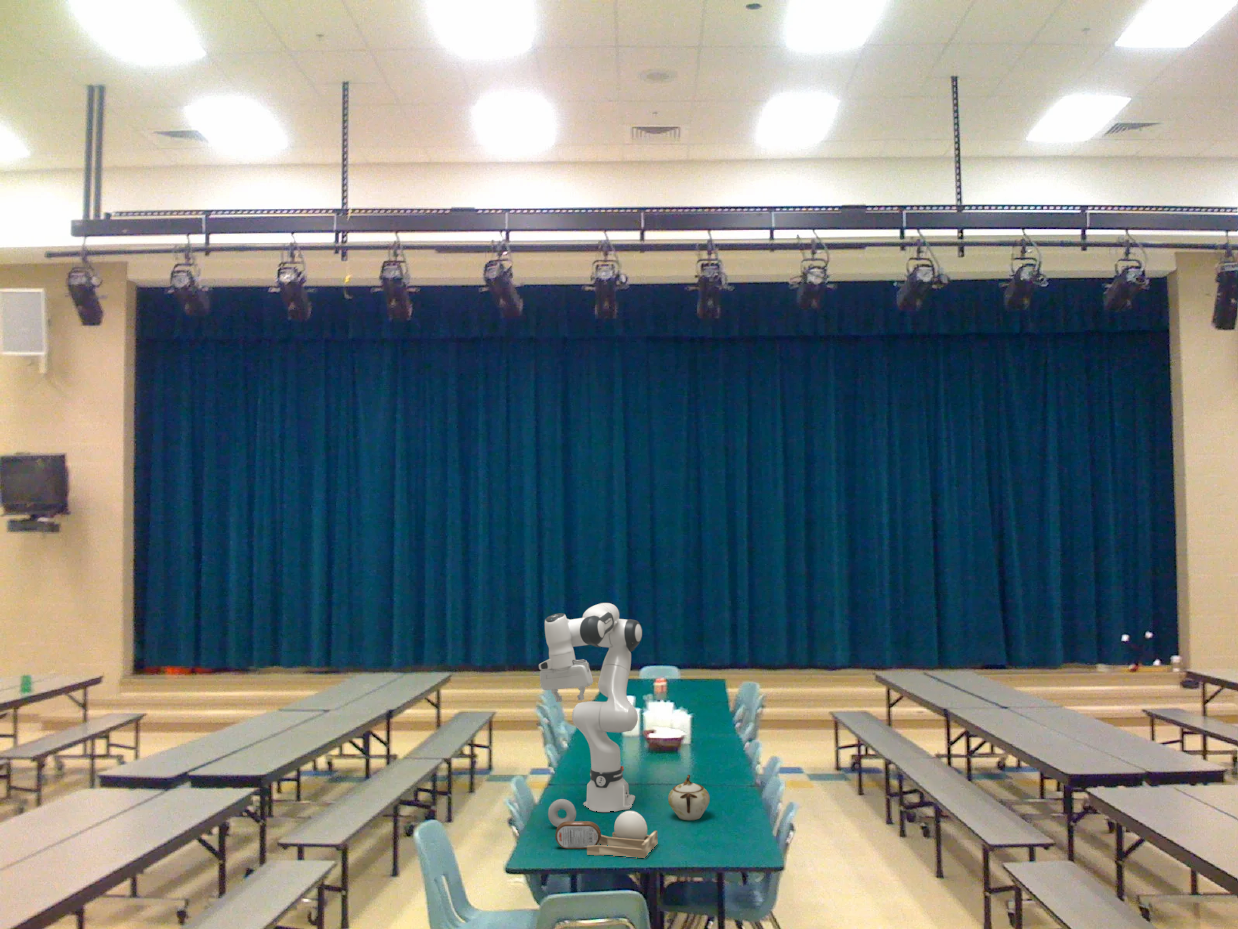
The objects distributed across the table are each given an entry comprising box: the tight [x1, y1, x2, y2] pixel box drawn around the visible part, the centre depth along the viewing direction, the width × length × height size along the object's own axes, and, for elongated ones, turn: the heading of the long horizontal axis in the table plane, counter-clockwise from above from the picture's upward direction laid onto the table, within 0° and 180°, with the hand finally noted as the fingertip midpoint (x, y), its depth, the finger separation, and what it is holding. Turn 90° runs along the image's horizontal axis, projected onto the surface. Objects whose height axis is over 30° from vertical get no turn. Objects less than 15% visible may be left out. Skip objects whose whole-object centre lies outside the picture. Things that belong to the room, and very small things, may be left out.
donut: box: [547, 798, 577, 828], centre depth 334 cm, size 10×4×10 cm, turn 83°
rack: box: [586, 830, 659, 859], centre depth 310 cm, size 16×19×4 cm
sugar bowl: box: [667, 774, 711, 821], centre depth 343 cm, size 20×15×15 cm
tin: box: [554, 820, 602, 850], centre depth 313 cm, size 15×3×8 cm, turn 86°
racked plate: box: [613, 810, 648, 840], centre depth 314 cm, size 2×11×11 cm, turn 71°
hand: (570, 700), depth 329 cm, fingers open, 8 cm apart
